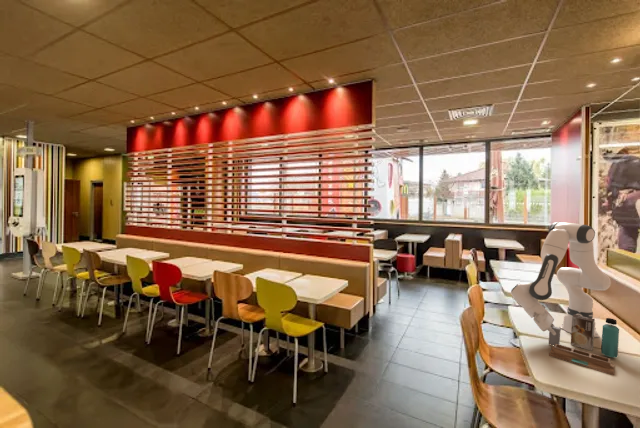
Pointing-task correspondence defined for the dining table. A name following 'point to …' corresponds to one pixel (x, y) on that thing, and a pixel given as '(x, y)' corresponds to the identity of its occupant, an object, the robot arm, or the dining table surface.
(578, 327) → the coffee box
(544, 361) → the dining table surface
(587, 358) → the rack
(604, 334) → the beverage bottle
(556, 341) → the panel
